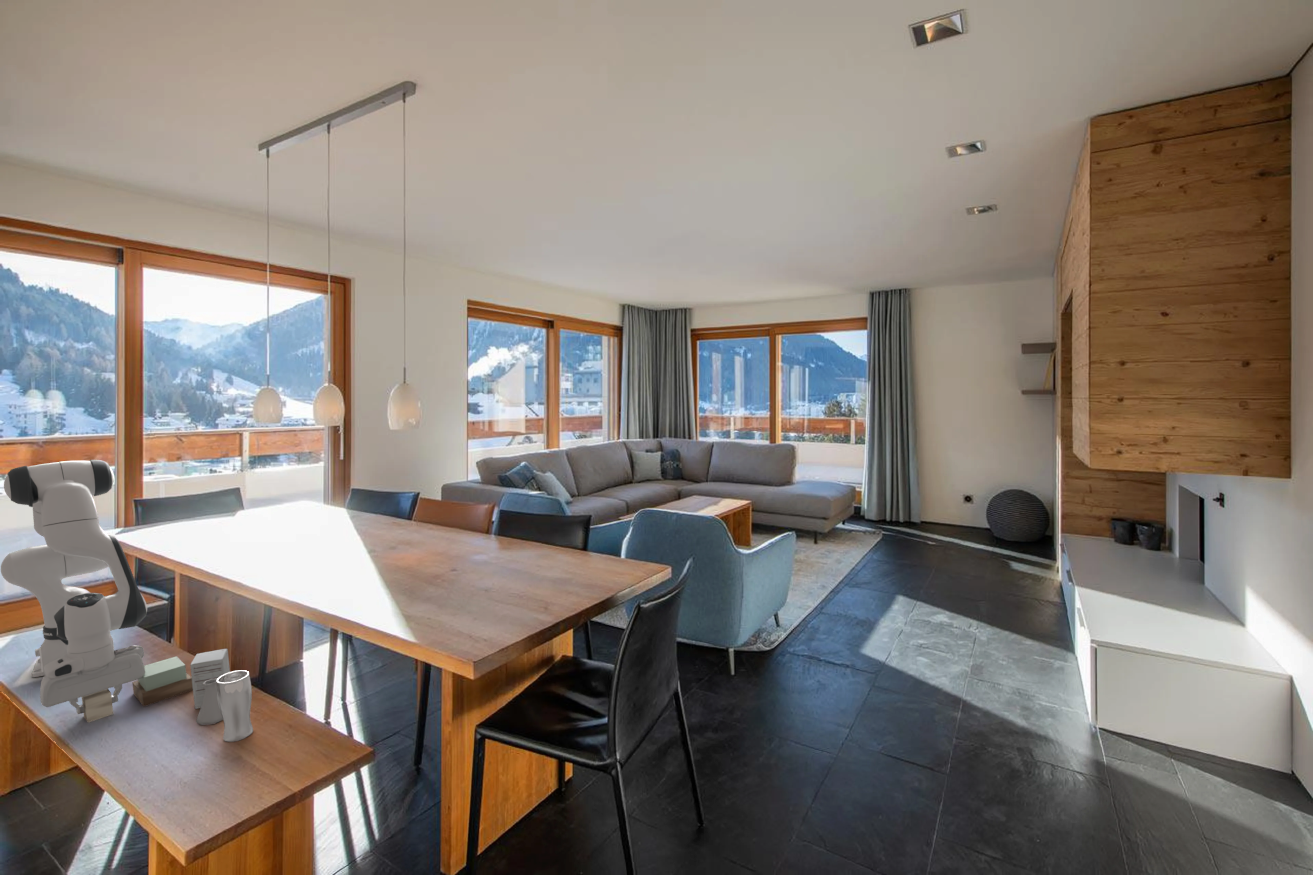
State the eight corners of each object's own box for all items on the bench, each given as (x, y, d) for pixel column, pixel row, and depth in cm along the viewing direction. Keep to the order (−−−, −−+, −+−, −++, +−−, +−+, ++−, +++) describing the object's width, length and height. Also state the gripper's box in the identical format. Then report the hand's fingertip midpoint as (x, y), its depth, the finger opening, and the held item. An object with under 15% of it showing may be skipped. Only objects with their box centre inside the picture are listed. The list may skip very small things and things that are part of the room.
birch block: (83, 716, 160) (81, 694, 160) (109, 708, 164) (106, 686, 164) (87, 722, 157) (85, 700, 157) (113, 714, 161) (110, 692, 160)
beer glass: (247, 741, 147) (241, 682, 146) (215, 744, 146) (209, 685, 145) (260, 725, 154) (255, 668, 153) (230, 728, 153) (224, 671, 152)
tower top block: (138, 681, 171) (136, 667, 171) (178, 669, 178) (176, 656, 178) (145, 691, 166) (144, 677, 165) (186, 678, 172) (185, 664, 172)
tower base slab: (133, 695, 171) (132, 682, 171) (181, 679, 180) (180, 666, 180) (144, 708, 165) (142, 694, 164) (193, 691, 173) (192, 677, 173)
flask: (213, 727, 154) (209, 689, 153) (189, 724, 155) (185, 687, 154) (238, 711, 161) (234, 675, 160) (215, 709, 162) (211, 673, 161)
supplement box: (200, 696, 169) (196, 653, 168) (232, 690, 172) (228, 647, 171) (193, 709, 162) (189, 664, 161) (227, 703, 165) (223, 658, 164)
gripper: (139, 639, 169) (144, 687, 171) (35, 668, 153) (42, 720, 155) (145, 645, 165) (151, 694, 167) (39, 675, 149) (46, 729, 151)
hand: (97, 707), depth 160 cm, fingers open, 5 cm apart
